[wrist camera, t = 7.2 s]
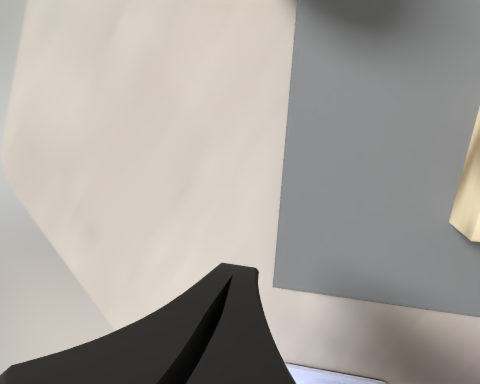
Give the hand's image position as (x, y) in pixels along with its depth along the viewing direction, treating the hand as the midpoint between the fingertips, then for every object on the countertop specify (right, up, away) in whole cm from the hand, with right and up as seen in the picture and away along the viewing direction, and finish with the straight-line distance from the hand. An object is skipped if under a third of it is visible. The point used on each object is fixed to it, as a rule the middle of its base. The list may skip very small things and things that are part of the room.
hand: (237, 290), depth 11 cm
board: (+13, +5, +7) cm, 16 cm away
